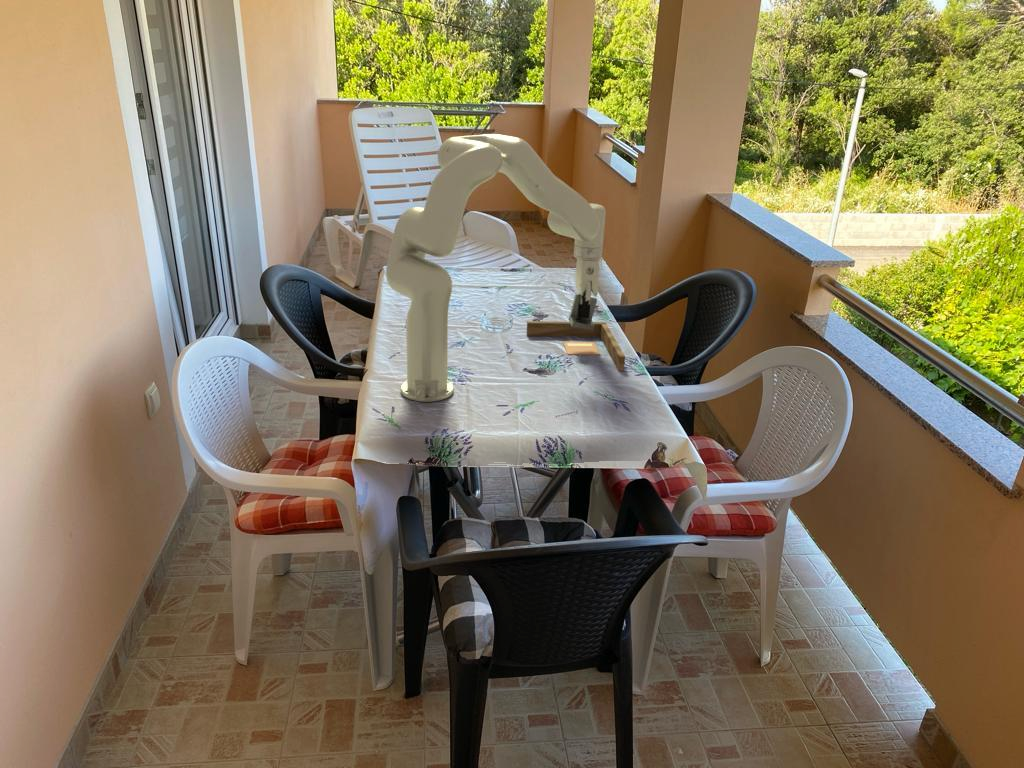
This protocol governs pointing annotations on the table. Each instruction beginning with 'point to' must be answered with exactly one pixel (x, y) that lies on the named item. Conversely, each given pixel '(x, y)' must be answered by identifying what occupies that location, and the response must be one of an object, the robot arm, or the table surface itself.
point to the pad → (581, 348)
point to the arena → (567, 330)
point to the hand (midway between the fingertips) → (582, 316)
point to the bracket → (582, 322)
